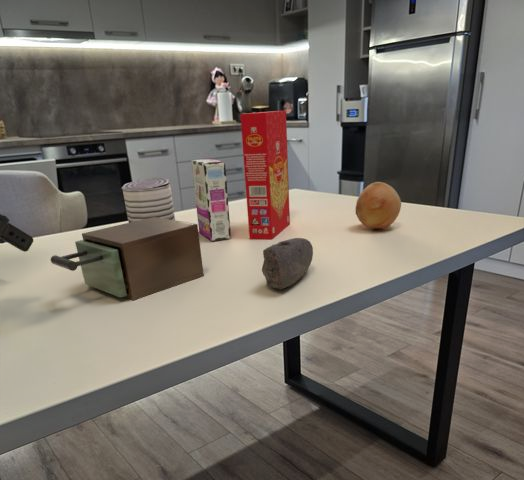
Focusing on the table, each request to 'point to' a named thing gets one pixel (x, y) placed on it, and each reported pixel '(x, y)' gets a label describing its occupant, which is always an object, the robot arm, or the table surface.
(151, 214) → the can
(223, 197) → the candy bar box
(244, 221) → the table surface
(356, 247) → the table surface
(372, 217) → the onion
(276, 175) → the food packaging
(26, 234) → the robot arm
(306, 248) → the perforated stone tool
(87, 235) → the cabinet
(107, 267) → the drawer
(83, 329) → the table surface
